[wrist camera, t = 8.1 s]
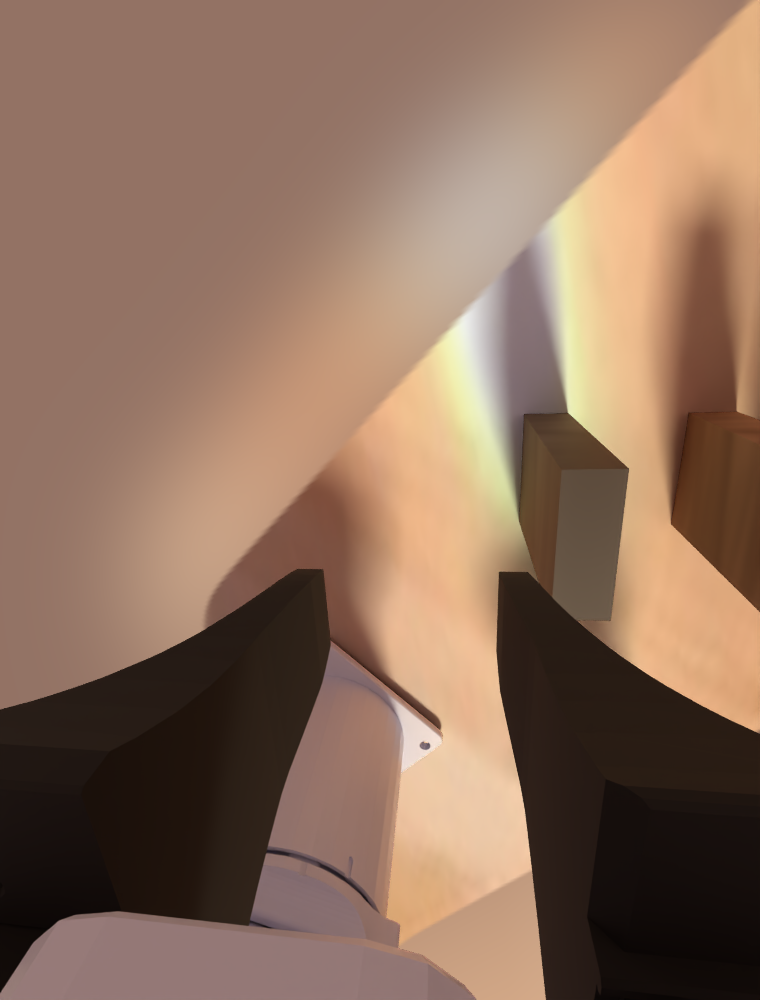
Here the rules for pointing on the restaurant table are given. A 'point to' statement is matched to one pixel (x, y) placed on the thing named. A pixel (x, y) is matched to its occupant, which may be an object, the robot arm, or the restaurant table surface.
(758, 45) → the restaurant table surface
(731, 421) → the tile
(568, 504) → the tile
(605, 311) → the restaurant table surface
